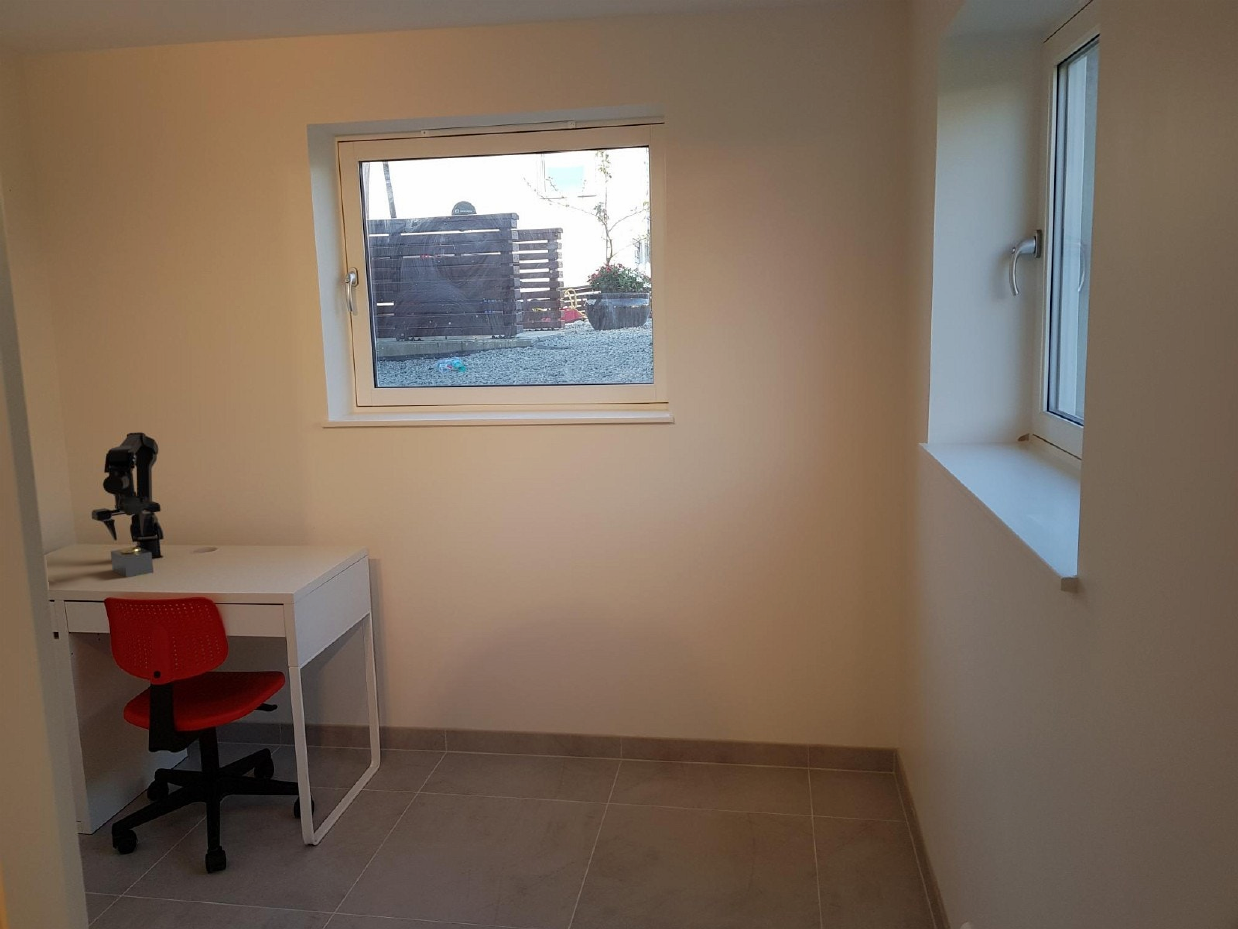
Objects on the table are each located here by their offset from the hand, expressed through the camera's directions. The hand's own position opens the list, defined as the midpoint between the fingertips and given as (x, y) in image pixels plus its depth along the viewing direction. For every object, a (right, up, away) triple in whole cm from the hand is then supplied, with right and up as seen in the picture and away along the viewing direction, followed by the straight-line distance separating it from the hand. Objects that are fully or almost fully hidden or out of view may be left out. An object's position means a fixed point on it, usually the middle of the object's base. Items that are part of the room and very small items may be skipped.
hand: (129, 537), depth 309 cm
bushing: (0, -10, +2) cm, 10 cm away
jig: (0, -11, +2) cm, 11 cm away
